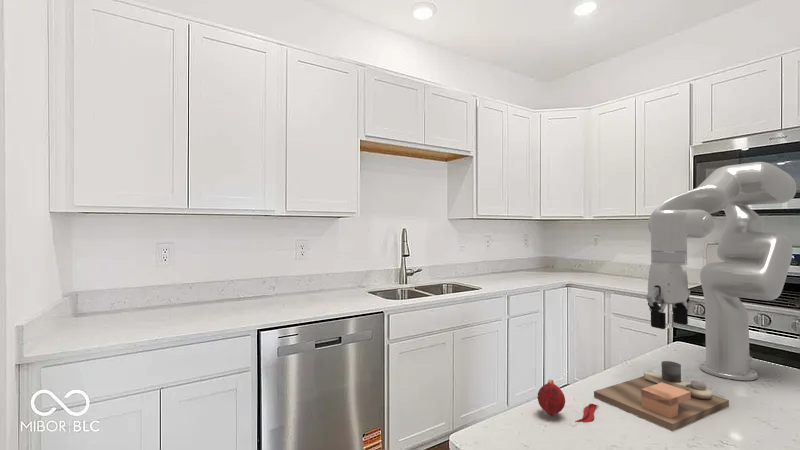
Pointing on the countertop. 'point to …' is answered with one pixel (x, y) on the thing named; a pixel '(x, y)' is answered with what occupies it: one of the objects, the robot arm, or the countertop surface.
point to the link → (676, 379)
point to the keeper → (664, 399)
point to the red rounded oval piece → (551, 398)
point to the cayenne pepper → (588, 413)
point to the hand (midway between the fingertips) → (669, 325)
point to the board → (630, 401)
